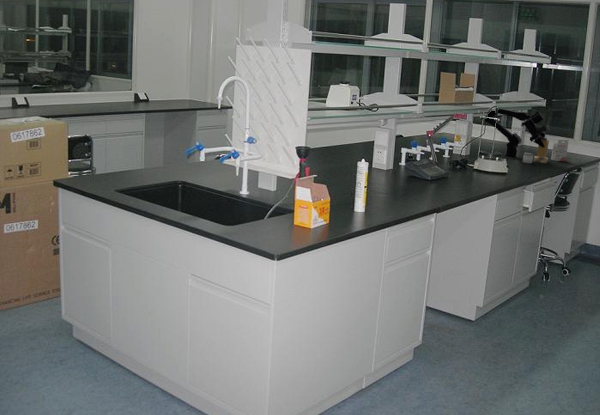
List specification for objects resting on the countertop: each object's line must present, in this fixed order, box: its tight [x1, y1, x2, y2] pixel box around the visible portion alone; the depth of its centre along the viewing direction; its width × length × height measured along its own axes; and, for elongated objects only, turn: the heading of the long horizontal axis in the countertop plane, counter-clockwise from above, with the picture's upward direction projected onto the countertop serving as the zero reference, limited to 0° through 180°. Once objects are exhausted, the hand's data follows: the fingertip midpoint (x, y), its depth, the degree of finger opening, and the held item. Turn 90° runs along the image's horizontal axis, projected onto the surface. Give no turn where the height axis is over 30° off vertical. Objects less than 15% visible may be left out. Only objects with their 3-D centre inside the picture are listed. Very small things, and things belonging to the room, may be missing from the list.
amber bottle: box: [536, 137, 550, 158], centre depth 468 cm, size 5×5×12 cm
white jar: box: [522, 152, 535, 164], centre depth 460 cm, size 6×6×6 cm
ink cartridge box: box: [550, 139, 569, 162], centre depth 480 cm, size 9×5×15 cm, turn 105°
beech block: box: [532, 155, 549, 164], centre depth 470 cm, size 9×9×3 cm
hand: (545, 147), depth 467 cm, fingers closed on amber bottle, 5 cm apart
